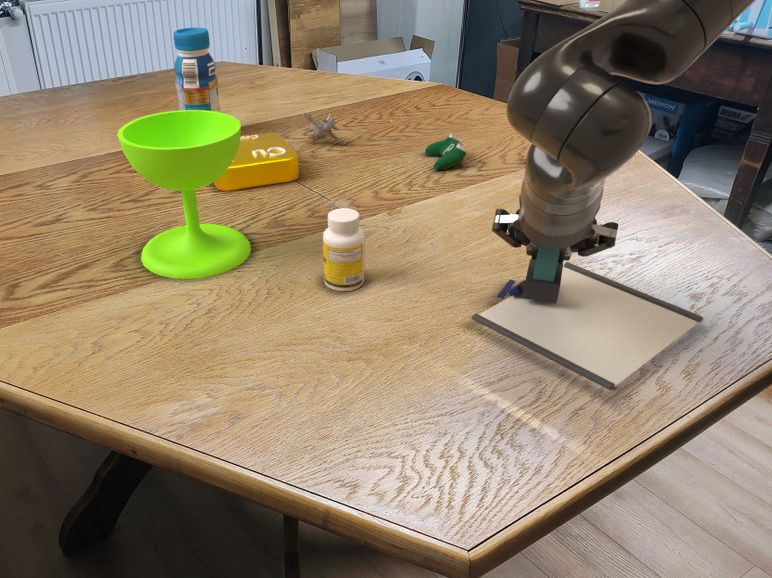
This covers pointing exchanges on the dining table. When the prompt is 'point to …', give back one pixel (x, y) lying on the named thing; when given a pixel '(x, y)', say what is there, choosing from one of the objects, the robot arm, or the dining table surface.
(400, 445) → the dining table surface
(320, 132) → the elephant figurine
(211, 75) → the beverage bottle
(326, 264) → the supplement bottle
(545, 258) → the eraser
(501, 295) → the bar
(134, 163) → the wineglass
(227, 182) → the element tile
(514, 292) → the bar
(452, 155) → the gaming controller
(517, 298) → the whiteboard
